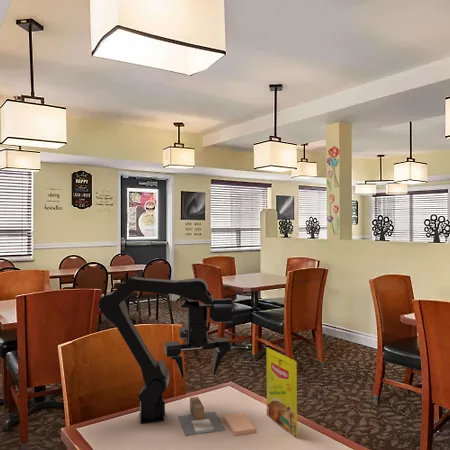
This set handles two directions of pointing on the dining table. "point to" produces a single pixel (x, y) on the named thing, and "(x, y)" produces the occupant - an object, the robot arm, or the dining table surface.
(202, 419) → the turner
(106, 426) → the dining table surface
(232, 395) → the dining table surface
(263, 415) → the dining table surface
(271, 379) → the food package
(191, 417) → the mat
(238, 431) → the tile
